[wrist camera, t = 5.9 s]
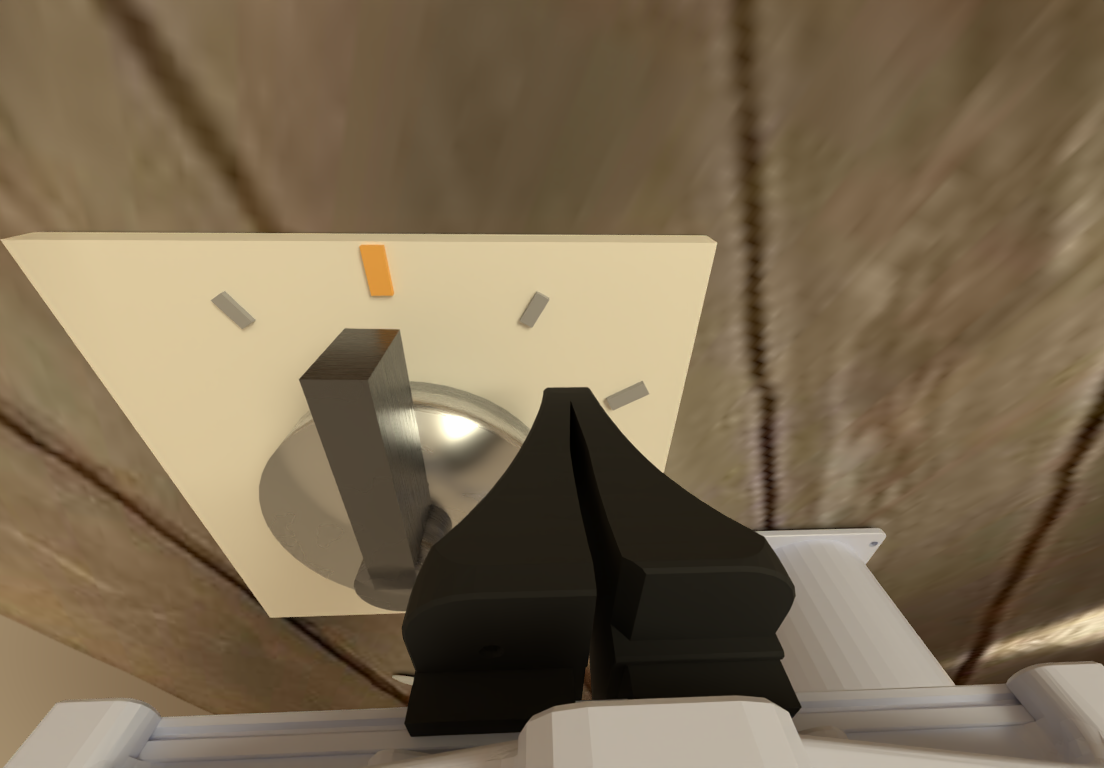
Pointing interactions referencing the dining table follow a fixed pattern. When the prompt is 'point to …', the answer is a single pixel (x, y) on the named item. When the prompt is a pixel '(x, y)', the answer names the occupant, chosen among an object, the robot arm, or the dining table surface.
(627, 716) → the robot arm
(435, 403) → the dial
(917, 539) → the dining table surface
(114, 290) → the dial plate
